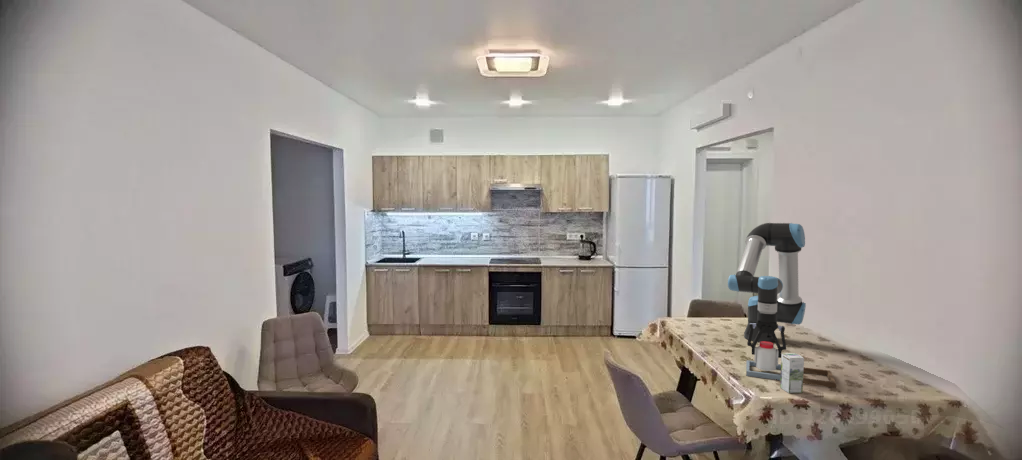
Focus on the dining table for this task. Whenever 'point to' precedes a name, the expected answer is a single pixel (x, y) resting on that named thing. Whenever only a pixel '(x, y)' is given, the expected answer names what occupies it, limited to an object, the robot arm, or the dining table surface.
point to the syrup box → (792, 372)
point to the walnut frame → (819, 382)
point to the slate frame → (761, 374)
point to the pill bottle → (766, 356)
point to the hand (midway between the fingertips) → (766, 363)
